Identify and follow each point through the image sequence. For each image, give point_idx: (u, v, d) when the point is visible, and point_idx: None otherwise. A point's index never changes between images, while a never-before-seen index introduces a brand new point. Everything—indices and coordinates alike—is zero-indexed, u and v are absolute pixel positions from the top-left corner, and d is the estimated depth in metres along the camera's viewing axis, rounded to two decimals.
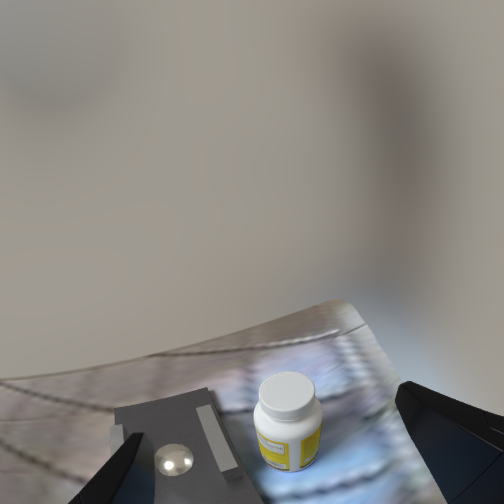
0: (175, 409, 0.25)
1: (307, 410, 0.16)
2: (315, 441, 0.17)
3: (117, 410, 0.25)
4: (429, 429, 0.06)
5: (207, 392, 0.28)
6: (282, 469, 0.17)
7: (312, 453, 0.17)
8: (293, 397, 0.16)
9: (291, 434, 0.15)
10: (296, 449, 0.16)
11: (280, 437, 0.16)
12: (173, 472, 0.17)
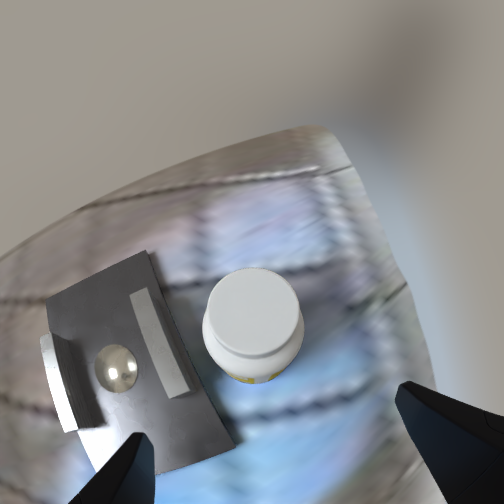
0: (109, 290, 0.21)
1: (285, 345, 0.11)
2: None
3: (48, 302, 0.20)
4: (429, 429, 0.06)
5: (146, 258, 0.23)
6: (245, 382, 0.17)
7: None
8: (264, 327, 0.11)
9: (259, 371, 0.12)
10: (264, 378, 0.14)
11: (243, 374, 0.12)
12: (118, 387, 0.17)
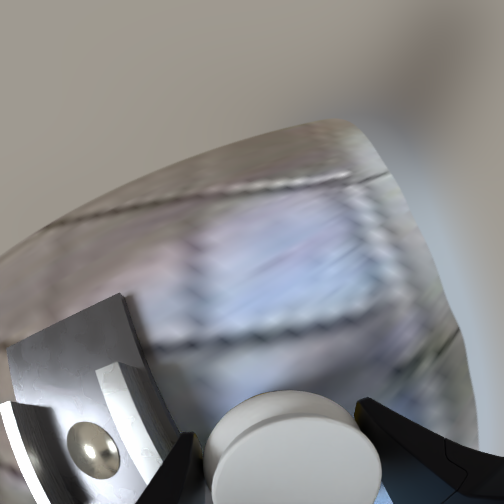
0: (75, 347, 0.14)
1: None
2: None
3: (9, 352, 0.13)
4: (384, 452, 0.05)
5: (120, 306, 0.15)
6: None
7: None
8: None
9: None
10: None
11: None
12: (98, 472, 0.10)
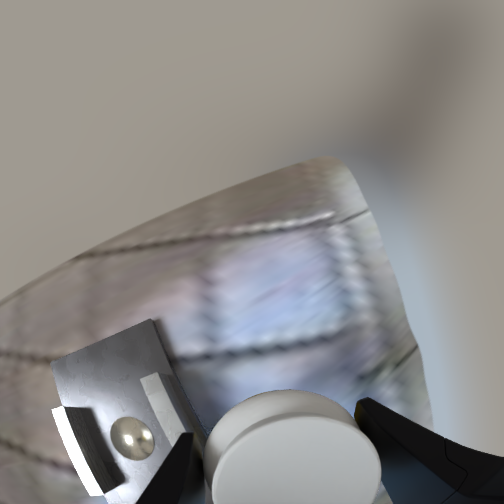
0: (115, 361, 0.19)
1: None
2: None
3: (54, 365, 0.18)
4: (384, 451, 0.05)
5: (152, 328, 0.21)
6: None
7: None
8: None
9: None
10: None
11: None
12: (136, 455, 0.15)
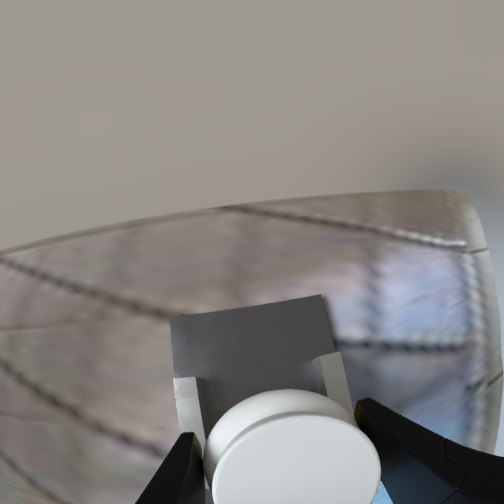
0: (271, 332, 0.20)
1: None
2: None
3: (175, 322, 0.20)
4: (384, 451, 0.05)
5: (321, 305, 0.21)
6: None
7: None
8: None
9: None
10: None
11: None
12: None
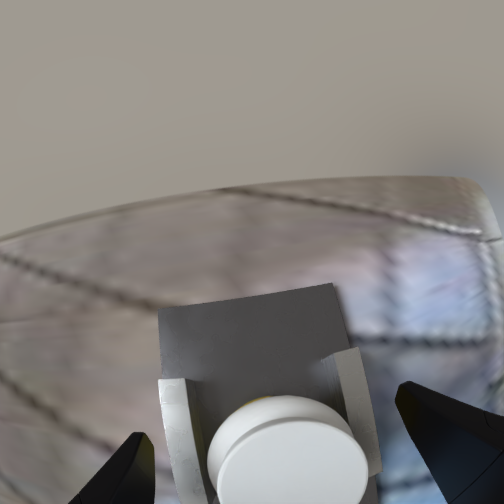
0: (276, 326, 0.17)
1: None
2: None
3: (164, 314, 0.17)
4: (429, 429, 0.06)
5: (333, 295, 0.18)
6: None
7: None
8: None
9: None
10: None
11: None
12: None
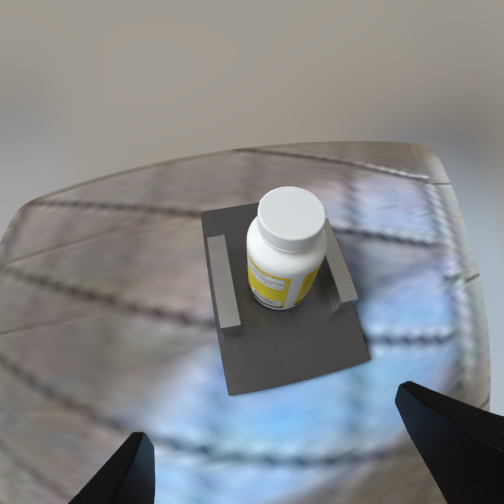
0: None
1: (317, 238, 0.15)
2: (315, 275, 0.19)
3: (205, 214, 0.28)
4: (429, 429, 0.06)
5: None
6: (275, 306, 0.21)
7: (309, 288, 0.21)
8: (302, 222, 0.15)
9: (297, 268, 0.16)
10: (297, 285, 0.18)
11: (284, 271, 0.16)
12: None
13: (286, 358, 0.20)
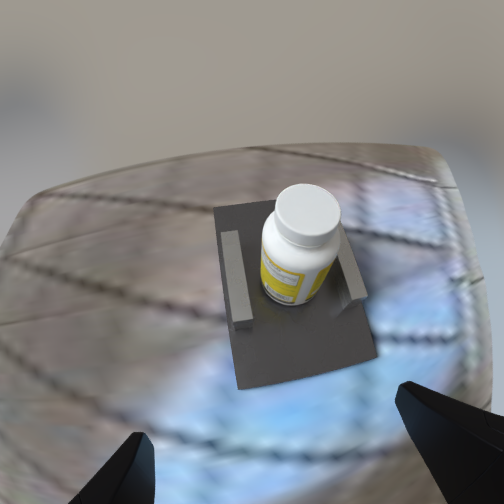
0: None
1: (332, 235, 0.16)
2: (328, 271, 0.19)
3: (217, 210, 0.28)
4: (429, 429, 0.06)
5: None
6: (287, 302, 0.22)
7: (320, 284, 0.21)
8: (318, 218, 0.15)
9: (311, 263, 0.16)
10: (310, 281, 0.18)
11: (299, 266, 0.17)
12: None
13: (296, 353, 0.21)
